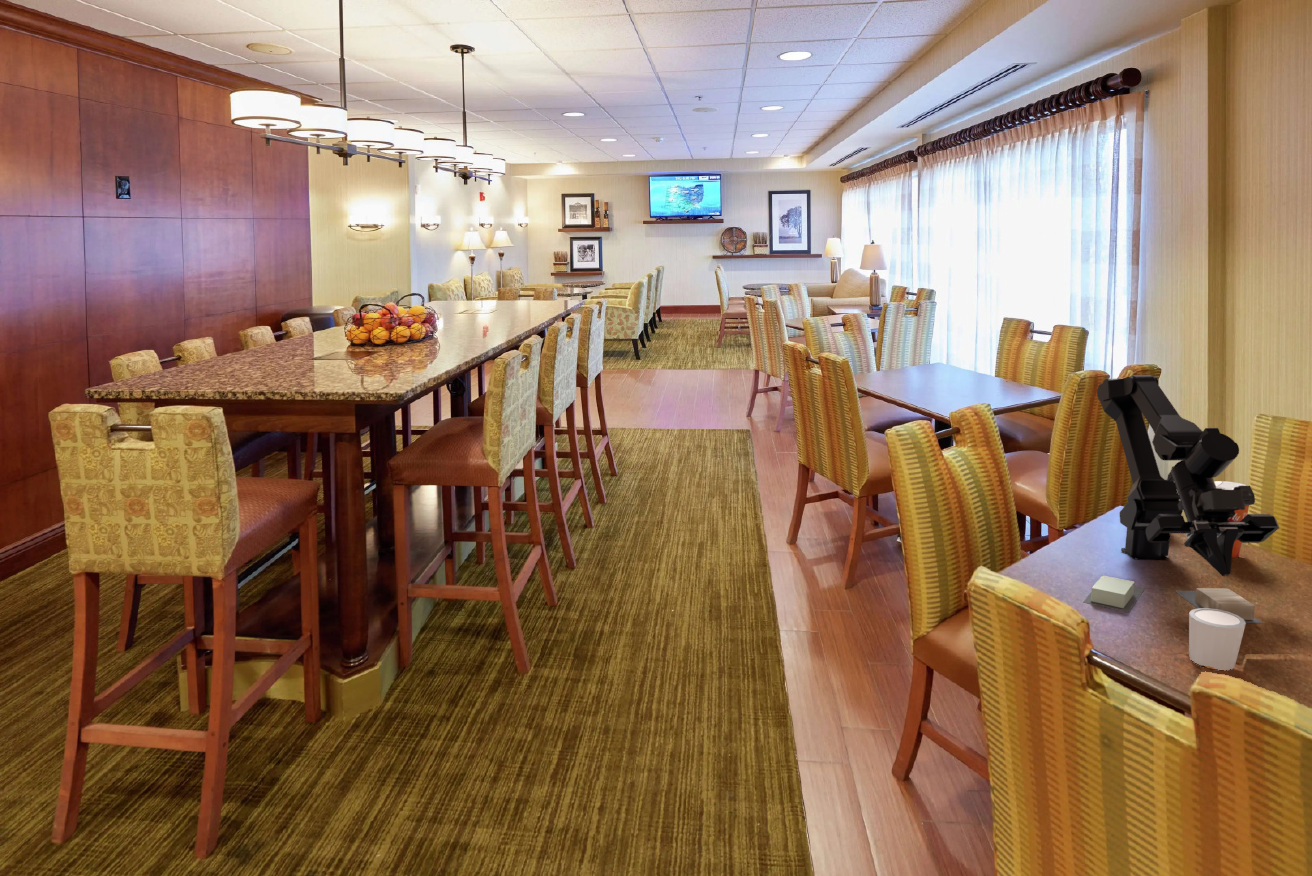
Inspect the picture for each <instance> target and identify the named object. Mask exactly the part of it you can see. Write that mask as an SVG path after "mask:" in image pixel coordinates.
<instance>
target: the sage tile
mask: <svg viewBox="0 0 1312 876" xmlns="http://www.w3.org/2000/svg"><path fill="white" fill-rule="evenodd" d="M1134 585H1135V581H1134V580H1133V581H1132V580H1128V579H1122V578H1117V577H1114V576H1113V577H1112V576H1107V575H1102V576H1101V577H1100V578H1098V580H1097V581H1096V582H1095V583H1094V585H1093V586H1092V587H1091V591H1090V593H1091V601H1092V602H1097V603H1101V604H1106V605H1111V606H1115V607H1120V608H1124V607H1125V605H1126V604H1127V603H1128V601H1129V600H1130V599H1131V597H1132V596H1133V592H1134Z"/></svg>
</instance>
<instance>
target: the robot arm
mask: <svg viewBox="0 0 1312 876" xmlns="http://www.w3.org/2000/svg"><path fill="white" fill-rule="evenodd" d="M1096 396H1097V400H1098V401H1099V403H1100V405H1101V407H1102V410H1103V412H1104V413H1105V414H1106V415H1107V416H1109V417H1110V418H1111V419H1112V420H1114V421H1115V424H1116V426H1117V431H1118V435H1119V438H1120V442H1121V446H1122V449H1123V451H1124V452H1123V453H1124V456H1125V459H1126V462H1127V463H1126V464H1127V465H1128V470H1129V474H1130V477H1131V481H1132V485H1131V488H1130V491H1129V493H1128V495H1127V501H1128V502H1127V503H1126V504H1125V505H1124V506H1123V507H1122V509H1121V510H1120V511H1119V523H1120V524H1121V525H1123V526H1124V527H1126V535H1125V545H1124V546H1125V547H1121V548H1120V552H1122V553H1123V554H1125V555H1128V556H1129V557H1130V558H1132V559H1133V560H1136V561H1169V560H1170V558H1168V556H1169V551H1170V541H1171V534H1185V537H1186V539H1187V540H1186V541H1185V542H1183V545H1184V546H1185V547H1187V548H1190V549H1192V550H1193V551H1194V552H1196V554H1198V555H1200V556H1201V557H1202V558H1203V559H1204V560H1205V561H1206V562H1207V563H1208V564H1210V566H1212V567H1213V568H1214V569H1215V570H1216V571H1217V573H1219V574H1220V576H1222V577H1229V576H1230V575H1231V571H1232V559H1233V558H1232V550H1233V545H1234V542H1235V541H1236V540H1237V539H1238V540H1239V541H1241V542H1242V543H1244V544H1249V543H1250V544H1251V543H1252V544H1253V543H1254V544H1255V543H1257V544H1259V543H1262V542H1265V541H1266V540H1268V538H1269V537H1271V536H1272V535H1273V534H1274V533H1275V532H1276V531H1278V530H1279V529H1280V526H1279V523H1278V521H1277V518H1276V517H1275V516H1274V515H1272V514H1270V513H1248V514H1247V515H1246V516H1245V517H1244V518H1243V519H1242V520H1241V521H1240V522H1229V521H1228V518H1232V517H1233V516H1234V515H1235V510H1239V509H1241V510H1244V509H1245V506H1251V505H1254V504H1255V503H1256V498H1255V497H1256V496H1255V492H1254V491H1253V489H1252V487H1251V485H1247V486H1238V487H1234V490H1222V489H1217V488H1216V485H1215V483H1214V481H1215V480H1214V478H1216V477H1218V476H1220V475H1221V474H1223V472H1224V471H1225V470H1226V469H1227V468H1228V467H1229V465H1230V464H1232V462H1234V460H1235V459H1237V457H1238V455H1239V454H1240V447H1239V445H1238V443H1237V442H1236V441H1235V440H1234V439H1232V438H1231V437H1230V436H1228V435H1226V434H1224V433H1222V432H1220V429H1219V428H1218V427H1204V429H1203V430H1202V429H1201V428H1200V427H1199V426H1198V425H1197V424H1196V423H1194V422H1193V421H1191V420H1188V419H1185V418H1183V417H1182V416H1181V415H1180V413H1179V412H1178V411H1177V409H1176V408H1175V407H1174V405H1173V404H1172V403H1171V401H1170V399H1169V398H1168V397H1167V395H1166V394H1165V392H1164V391H1163V389H1162V388H1161V387H1160V385H1159V379H1158V377H1157V376H1154V375H1152V374H1134V375H1133V374H1132V375H1130V376H1126V377H1124V378H1105V379H1104V380H1103V381H1102V383H1100V384H1099V385H1098V386H1097V389H1096ZM1144 418H1145V419H1146V421H1147V423H1148V424H1149V426H1150V427H1151V429H1152V431H1153V433H1154V436H1153V439H1152V442H1151V439H1150V436H1149V433H1148V429H1147V426H1146V422H1145V419H1144ZM1152 445H1153V446H1152ZM1153 448H1154V449H1153ZM1154 452H1155V453H1156V454H1157V456H1158V458H1159V459H1160V460H1161V461H1168V462H1169V461H1178V462H1176V464H1175V465H1173V466H1171V470H1170V471H1169V473H1168V474H1167V478H1166V479H1165V478H1164V477H1162V476H1161V472H1160V470H1159V469H1160V468H1159V467H1158V466H1159V465H1158V463H1157V459H1156V456H1155V453H1154ZM1183 512H1184V515H1185V516H1184V515H1182V514H1183ZM1184 517H1185V518H1186V520H1185V518H1184ZM1242 543H1241V544H1242Z"/></svg>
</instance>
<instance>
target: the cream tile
mask: <svg viewBox="0 0 1312 876" xmlns="http://www.w3.org/2000/svg"><path fill="white" fill-rule="evenodd" d="M1195 591H1196V598H1195V602H1196V603H1198V604H1199V605H1201V606H1202V607H1203V608H1210V609H1218V610H1222V611H1227V612H1230V613H1233V614H1235V615H1238V616H1239V617H1241V618H1242V619H1244V620H1253V619H1254V617H1255V609H1256V608H1255V607H1256V605H1255V604H1253V603H1252V602H1250V601H1248V600H1246V598H1243V597H1242V596H1241V595H1240V594H1238V593H1236V592H1234V591H1233V590H1232V589H1229V588H1225V587H1223V588H1222V587H1221V588H1220V587H1219V588H1218V587H1217V588H1215V587H1214V588H1211V587H1205V588H1204V587H1203V588H1201V587H1200V588H1199V587H1197V588H1196V589H1195Z"/></svg>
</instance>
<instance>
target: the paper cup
mask: <svg viewBox="0 0 1312 876" xmlns="http://www.w3.org/2000/svg"><path fill="white" fill-rule="evenodd" d="M1214 483H1215V485H1216V488H1217V489H1222V490H1234V487H1238V486H1248V484H1244V483H1240V482H1235V481H1224V480H1218V481H1217V480H1216V481H1215V480H1214ZM1249 506H1250V505H1249ZM1249 506H1245V509H1244V510H1241V509H1239V510H1235V515H1234V516H1233V517H1232V518H1228V521H1229V522H1240V521H1241V520H1242V519H1243V518H1244V517H1245V516H1246V515H1247V514H1249V513H1248V512H1249V508H1250V507H1249ZM1241 548H1242V542H1241V541H1239V540H1238V539H1237V540H1236V541H1235V542H1234V545H1233V550H1232V559H1239V556H1240V552H1241Z"/></svg>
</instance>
